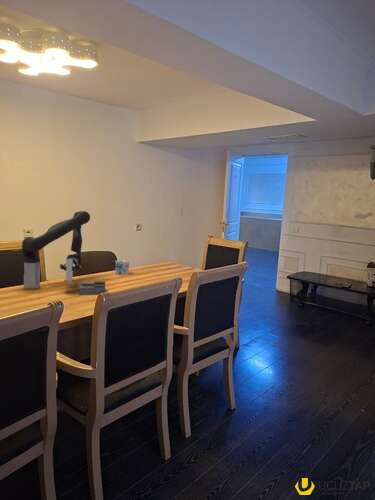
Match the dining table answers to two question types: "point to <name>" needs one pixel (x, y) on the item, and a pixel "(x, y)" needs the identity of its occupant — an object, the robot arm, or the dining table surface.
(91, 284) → the keyhole board
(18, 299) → the dining table surface
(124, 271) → the light bulb box
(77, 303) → the dining table surface
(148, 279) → the dining table surface
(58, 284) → the dining table surface
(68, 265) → the steel post
